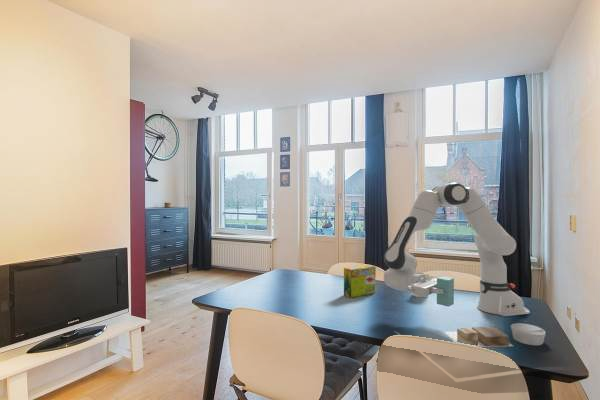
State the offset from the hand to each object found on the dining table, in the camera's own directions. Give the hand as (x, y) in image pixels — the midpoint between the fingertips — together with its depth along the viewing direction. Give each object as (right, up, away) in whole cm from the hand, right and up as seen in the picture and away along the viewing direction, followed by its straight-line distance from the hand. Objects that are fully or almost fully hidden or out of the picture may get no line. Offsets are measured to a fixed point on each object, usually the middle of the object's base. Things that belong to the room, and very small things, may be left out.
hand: (447, 290), depth 143 cm
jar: (+5, -16, +48) cm, 51 cm away
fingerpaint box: (-28, -16, +52) cm, 61 cm away
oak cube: (+1, -16, -15) cm, 22 cm away
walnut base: (+11, -16, -13) cm, 23 cm away
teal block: (-1, -6, +1) cm, 6 cm away
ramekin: (+26, -17, -12) cm, 33 cm away
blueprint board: (+7, -17, -11) cm, 21 cm away
